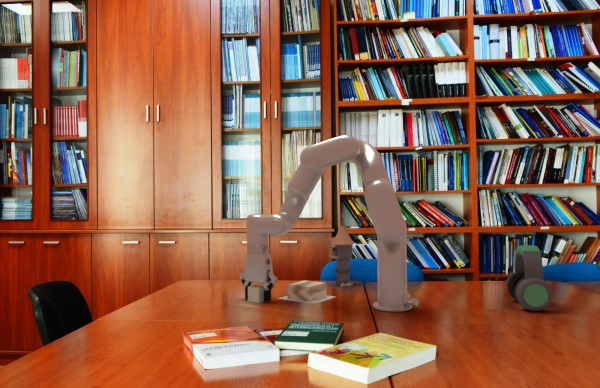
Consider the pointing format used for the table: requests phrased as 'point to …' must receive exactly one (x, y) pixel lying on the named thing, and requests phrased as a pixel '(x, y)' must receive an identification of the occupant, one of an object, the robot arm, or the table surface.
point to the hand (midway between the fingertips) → (258, 299)
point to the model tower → (341, 255)
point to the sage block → (256, 293)
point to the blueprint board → (308, 301)
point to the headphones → (529, 280)
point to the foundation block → (306, 290)
